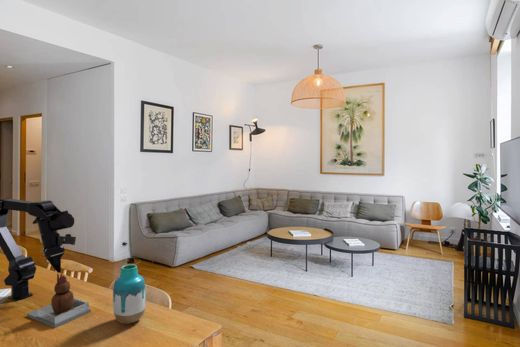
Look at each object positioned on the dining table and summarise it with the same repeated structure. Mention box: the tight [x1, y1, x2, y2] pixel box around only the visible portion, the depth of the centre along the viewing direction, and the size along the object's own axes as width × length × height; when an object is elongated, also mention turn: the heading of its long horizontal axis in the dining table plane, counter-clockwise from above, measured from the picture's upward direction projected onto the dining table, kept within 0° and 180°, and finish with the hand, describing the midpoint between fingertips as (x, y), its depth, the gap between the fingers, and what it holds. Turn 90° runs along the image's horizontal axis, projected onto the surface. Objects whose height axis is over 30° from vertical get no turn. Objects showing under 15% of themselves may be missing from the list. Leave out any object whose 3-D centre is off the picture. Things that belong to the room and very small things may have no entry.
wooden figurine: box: [51, 272, 75, 315], centre depth 118 cm, size 7×6×15 cm
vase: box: [112, 263, 147, 324], centre depth 115 cm, size 11×11×19 cm
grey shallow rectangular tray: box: [26, 297, 92, 329], centre depth 120 cm, size 17×13×4 cm
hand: (58, 271), depth 130 cm, fingers open, 9 cm apart
